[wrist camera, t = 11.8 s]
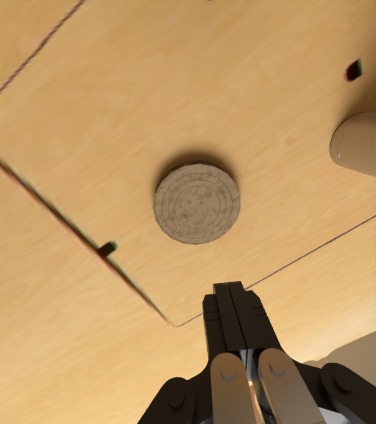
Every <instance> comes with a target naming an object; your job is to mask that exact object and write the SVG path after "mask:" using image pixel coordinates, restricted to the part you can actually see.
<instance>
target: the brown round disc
mask: <svg viewBox="0 0 376 424" xmlns="http://www.w3.org/2000/svg"><path fill="white" fill-rule="evenodd" d="M153 210H154V214H155V219H156V221H157V223H158V225H159V226H160V228H161V229H162V231H163V232H164V233H166V234H167V235H168V236H169V237H170V238H172V239H174V240H176V241H179V242H181V243H185V244H193V245H197V244H204V243H209V242H211V241H214V240H216V239H218V238H220V237H221V236H223V235H224V234H225V233H226V232H228V231H229V230H230V229H231V227H232V226H233V224H234V223H235V221H236V220H237V217H238V214H239V211H240V194H239V191H238V188H237V186H236V183H235V182H234V181H233V180H232V179H231V178H230V177H229V175H228V174H227V173H226V172H225V171H224V170H223V169H221V168H220V167H218V166H216V165H214V164H212V163H208V162H203V161H192V162H186V163H182V164H180V165H178V166H176V167H174V168H172V169H171V170H170V171H169V172H168V173H167V174H166V175H165V176H164V177H163V178H162V179H161V181H160V183H159V185H158V187H157V189H156V192H155V198H154V206H153Z"/></svg>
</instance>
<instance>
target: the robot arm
mask: <svg viewBox="0 0 376 424" xmlns="http://www.w3.org/2000/svg"><path fill="white" fill-rule="evenodd" d="M330 154H331V157H332V159H333V161H334V162H335V163H336V164H338V165H340V166H342V167H345V168H348V169H351V170H355V171H357V172H360V173H364V174H367V175H370V176H373V177H376V113H359V114H356V115H354V116H352V117H350V118H348V119H347V120H346V121H344V122H343V123H342V124H341V125H340V126H339V128H338V129H337V130H336V132H335V134H334V136H333V138H332V141H331V145H330ZM202 304H203V318H204V328H205V336H206V344H207V351H208V359H209V360H208V363H207V366H206V367H205V369H204V370H203V371H202V372H201V373H200V374H198V375H196V376H195V377H193V378H191V379H189V380H186V379H184V378H181V377H175V378H172V379H169V380H168V381H167V382H166V383H164V385H163V386H162V387H161V389H160V390H159V392H158V393H157V395H156V396H155V398H154V399H153V401H152V402H151V404H150V405H149V407H148V408H147V410H146V411H145V413H144V414H143V416H142V417H141V419H140V420H139V422H138V423H137V424H257V423H256V419H255V414H254V408H253V404H252V399H251V393H250V388H249V383H248V381H252V383H253V387H254V390H255V403H256V406H257V409H258V412H259V415H260V418H261V421H262V424H376V387H375V386H374V385H372V384H371V383H369V382H368V381H366V380H365V379H363V378H362V377H360V376H359V375H357V374H356V373H354V372H353V371H352V370H350V369H349V368H347V367H345V366H343V365H341V364H338V363H327V364H325V365H324V366H323V367H322V369H320V368H317V367H313V366H309V365H305V364H302V363H299V362H297V361H295V360H293V359H292V358H291V357H289V356H288V355H287V354H286V353H285V352H284V350H283V349H282V347H281V345H280V343H279V341H278V339H277V336H276V334H275V332H274V330H273V327H272V325H271V323H270V321H269V318H268V316H267V314H266V312H265V309H264V308H263V305H262V303H261V300H260V298H259V297H258V296H257V295H256V294H255V293H254V292H253V291H252V290H249V291H245V290H244V288H243V285H242V283H241V281H236V282H227V283H216V284H213V294H208V295H205V297H204V300H203V303H202Z"/></svg>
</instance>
